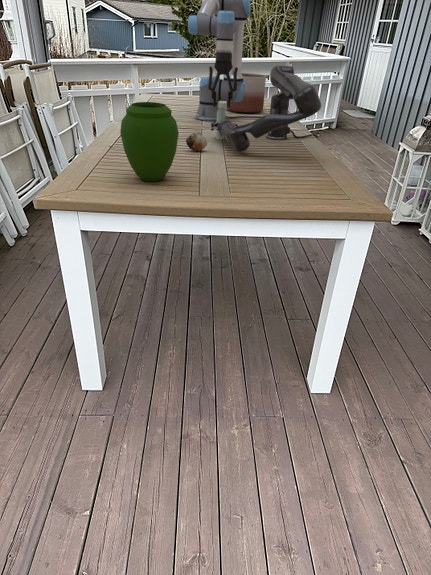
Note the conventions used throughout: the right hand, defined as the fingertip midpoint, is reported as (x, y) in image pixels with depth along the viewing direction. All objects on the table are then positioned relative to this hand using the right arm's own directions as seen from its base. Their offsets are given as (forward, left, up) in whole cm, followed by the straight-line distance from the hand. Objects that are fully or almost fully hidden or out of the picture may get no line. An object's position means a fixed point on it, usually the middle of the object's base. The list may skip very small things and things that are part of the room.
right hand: (219, 123), depth 205 cm
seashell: (+17, +26, -7) cm, 32 cm away
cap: (0, +3, +10) cm, 10 cm away
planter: (-40, -78, -7) cm, 88 cm away
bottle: (0, +3, -7) cm, 7 cm away
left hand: (0, +3, +8) cm, 9 cm away
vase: (+42, +64, -7) cm, 77 cm away
